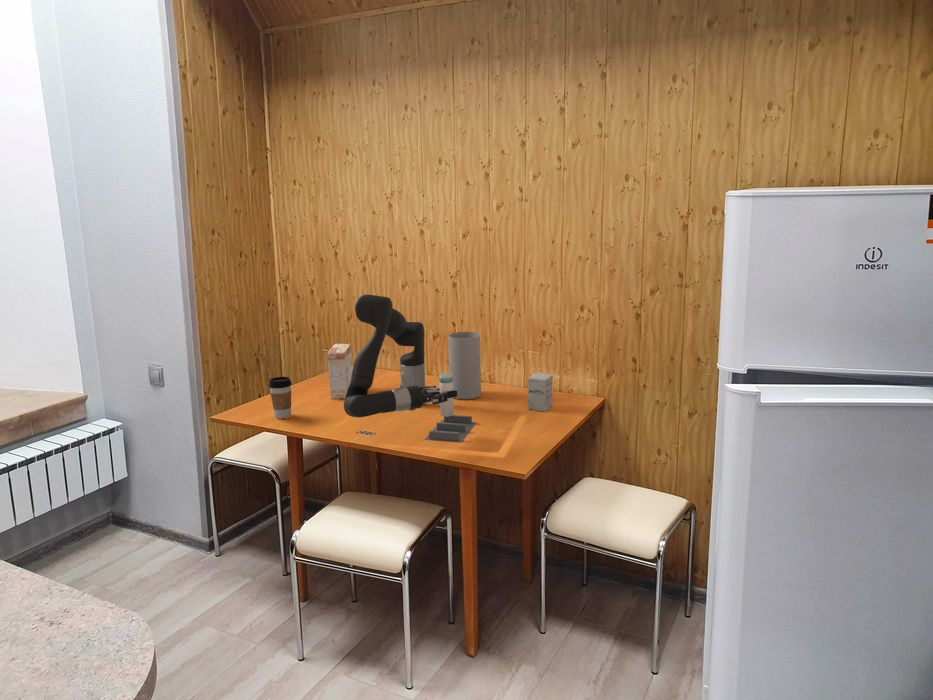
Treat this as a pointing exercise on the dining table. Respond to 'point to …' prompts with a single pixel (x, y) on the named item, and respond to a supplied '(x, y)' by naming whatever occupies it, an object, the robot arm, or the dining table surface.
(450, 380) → the white bottle teal band
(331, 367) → the coffeecake box
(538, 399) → the supplement box
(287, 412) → the coffee cup
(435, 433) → the grey twin-rail base
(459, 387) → the cylinder vase
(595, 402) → the dining table surface
